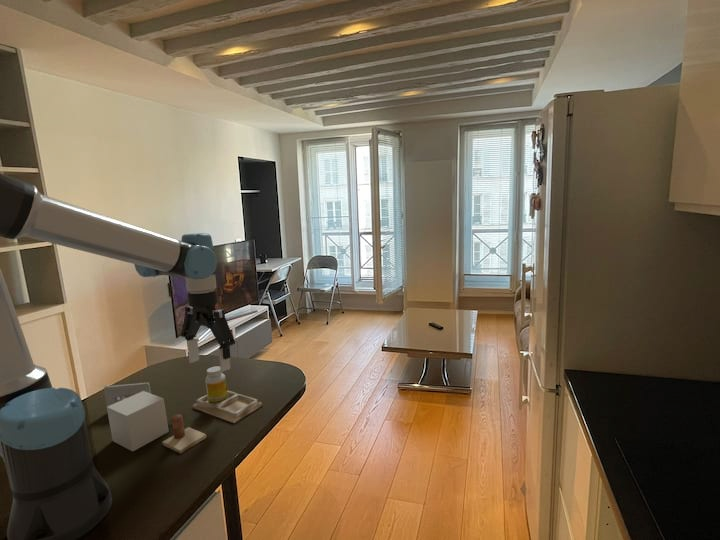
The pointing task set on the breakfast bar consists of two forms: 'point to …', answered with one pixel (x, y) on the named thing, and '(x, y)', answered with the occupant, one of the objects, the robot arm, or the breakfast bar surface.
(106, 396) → the cassette
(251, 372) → the breakfast bar surface
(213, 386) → the supplement bottle
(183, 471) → the breakfast bar surface
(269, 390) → the breakfast bar surface
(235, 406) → the beige divided tray
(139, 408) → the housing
